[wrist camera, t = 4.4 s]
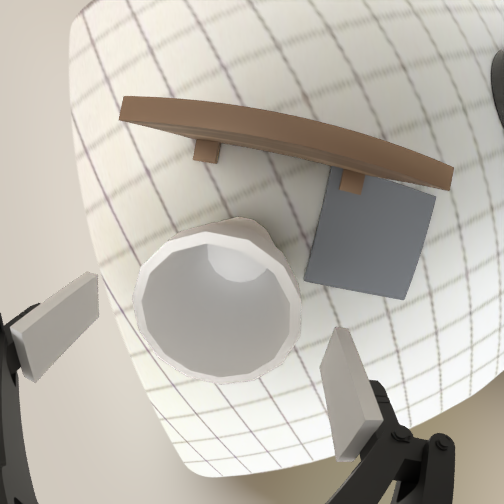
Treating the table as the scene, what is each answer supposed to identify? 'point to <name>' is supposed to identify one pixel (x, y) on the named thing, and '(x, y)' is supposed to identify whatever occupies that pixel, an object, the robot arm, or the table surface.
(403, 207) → the mat
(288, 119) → the screen
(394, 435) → the robot arm
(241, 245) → the foam cup
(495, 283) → the table surface
